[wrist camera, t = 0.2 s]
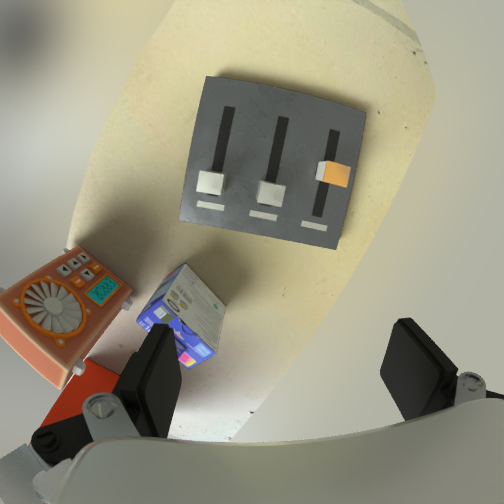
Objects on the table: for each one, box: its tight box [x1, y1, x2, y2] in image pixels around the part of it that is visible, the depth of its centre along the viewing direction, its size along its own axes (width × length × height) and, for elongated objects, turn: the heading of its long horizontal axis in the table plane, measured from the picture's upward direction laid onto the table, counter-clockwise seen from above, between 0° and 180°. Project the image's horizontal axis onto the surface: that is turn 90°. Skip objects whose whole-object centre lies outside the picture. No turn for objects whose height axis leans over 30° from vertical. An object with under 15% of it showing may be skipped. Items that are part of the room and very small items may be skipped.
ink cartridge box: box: [136, 264, 226, 369], centre depth 36 cm, size 10×6×14 cm, turn 39°
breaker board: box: [179, 76, 366, 250], centre depth 33 cm, size 20×22×8 cm
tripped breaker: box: [315, 161, 351, 187], centre depth 32 cm, size 2×3×4 cm
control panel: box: [0, 246, 133, 390], centre depth 32 cm, size 21×7×15 cm
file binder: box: [29, 358, 120, 445], centre depth 34 cm, size 8×17×32 cm, turn 64°
